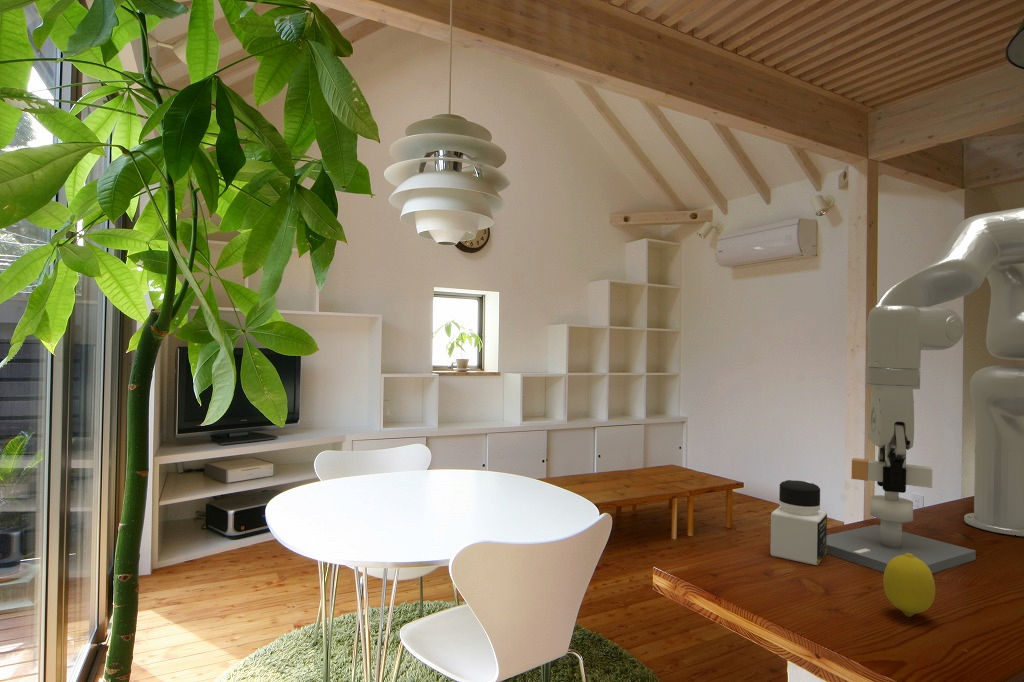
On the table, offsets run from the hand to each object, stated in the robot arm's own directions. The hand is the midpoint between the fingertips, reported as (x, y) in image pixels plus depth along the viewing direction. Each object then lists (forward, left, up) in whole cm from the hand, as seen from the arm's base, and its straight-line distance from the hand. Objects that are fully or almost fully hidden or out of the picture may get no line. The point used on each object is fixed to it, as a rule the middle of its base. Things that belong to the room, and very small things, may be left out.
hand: (891, 487), depth 100 cm
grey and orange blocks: (0, 0, -5) cm, 5 cm away
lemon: (+23, +15, -11) cm, 29 cm away
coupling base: (0, 0, -11) cm, 11 cm away
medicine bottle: (+15, -6, -11) cm, 20 cm away
